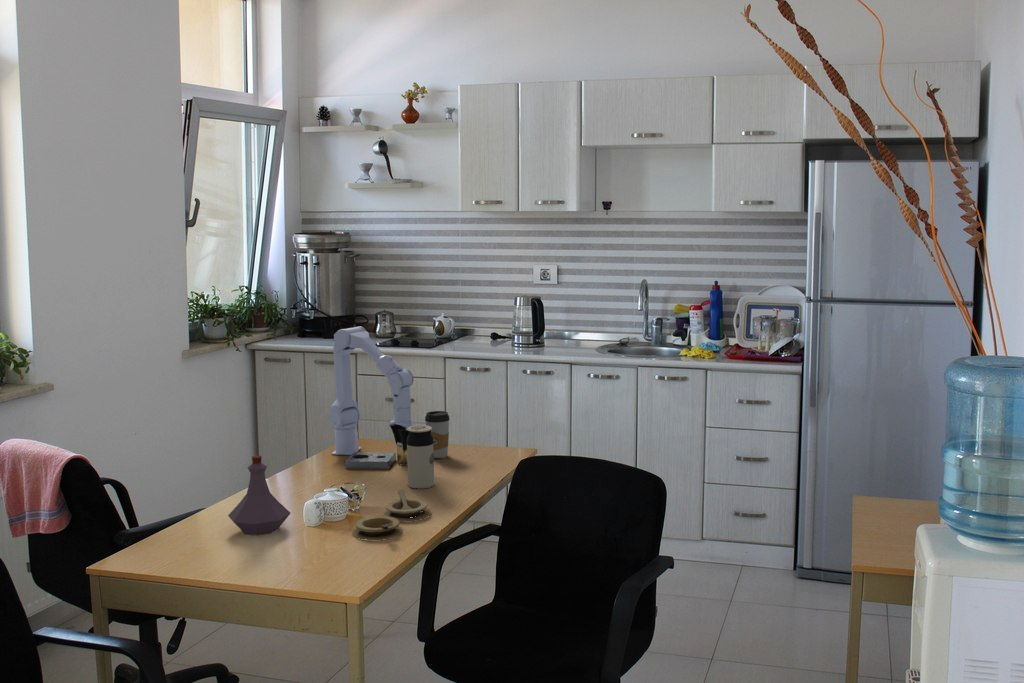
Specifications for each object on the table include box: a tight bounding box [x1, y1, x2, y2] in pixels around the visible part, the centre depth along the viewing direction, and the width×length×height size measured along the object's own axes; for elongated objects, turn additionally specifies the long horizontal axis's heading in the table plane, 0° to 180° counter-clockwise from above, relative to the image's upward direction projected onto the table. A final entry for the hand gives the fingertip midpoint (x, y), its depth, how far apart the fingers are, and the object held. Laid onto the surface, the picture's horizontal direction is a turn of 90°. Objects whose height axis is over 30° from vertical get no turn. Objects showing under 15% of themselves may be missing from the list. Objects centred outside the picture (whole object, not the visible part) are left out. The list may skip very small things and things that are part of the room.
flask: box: [227, 455, 291, 536], centre depth 273 cm, size 16×16×20 cm
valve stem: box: [396, 441, 408, 466], centre depth 340 cm, size 4×4×7 cm
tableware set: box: [351, 488, 433, 541], centre depth 278 cm, size 30×20×6 cm, turn 158°
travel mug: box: [406, 424, 435, 490], centre depth 312 cm, size 8×8×18 cm
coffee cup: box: [424, 410, 450, 459], centre depth 347 cm, size 8×8×15 cm
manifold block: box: [344, 451, 397, 470], centre depth 339 cm, size 12×14×2 cm
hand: (403, 447), depth 340 cm, fingers open, 7 cm apart
